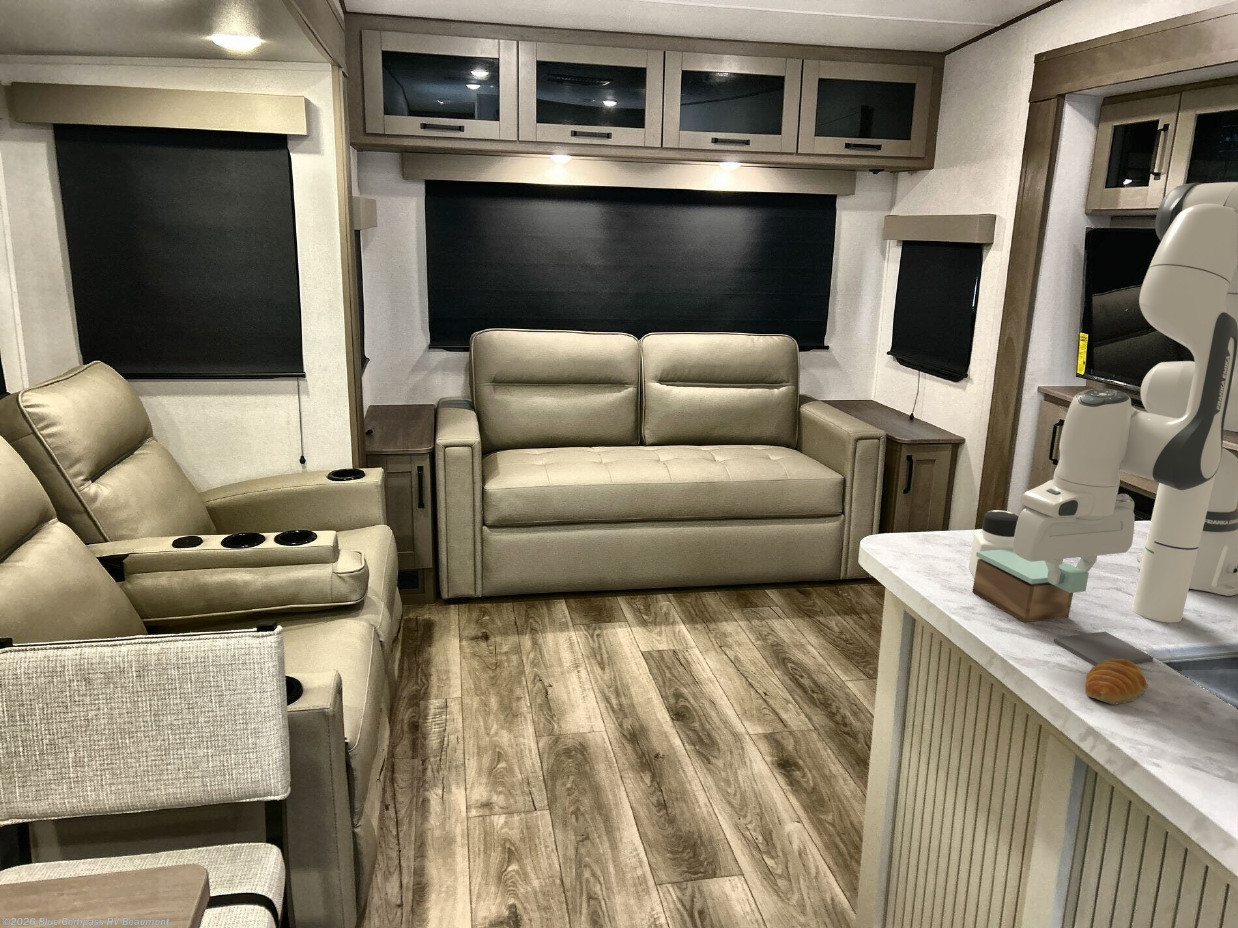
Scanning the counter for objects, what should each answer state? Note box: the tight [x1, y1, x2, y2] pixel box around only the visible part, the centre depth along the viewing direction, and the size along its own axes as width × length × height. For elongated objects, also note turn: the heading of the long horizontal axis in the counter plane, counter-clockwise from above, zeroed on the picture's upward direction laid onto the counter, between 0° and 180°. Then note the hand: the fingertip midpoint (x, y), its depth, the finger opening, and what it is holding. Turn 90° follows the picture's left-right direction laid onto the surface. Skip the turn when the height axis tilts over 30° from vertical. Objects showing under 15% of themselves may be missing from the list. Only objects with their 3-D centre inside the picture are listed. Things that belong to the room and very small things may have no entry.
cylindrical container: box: [1131, 474, 1216, 624], centre depth 144 cm, size 7×7×25 cm
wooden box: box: [971, 559, 1074, 623], centre depth 147 cm, size 9×12×6 cm
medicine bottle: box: [968, 509, 1019, 579], centre depth 157 cm, size 7×7×12 cm
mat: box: [1052, 631, 1154, 667], centre depth 132 cm, size 10×9×1 cm
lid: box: [976, 549, 1090, 594], centre depth 144 cm, size 10×17×3 cm, turn 19°
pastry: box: [1084, 658, 1149, 705], centre depth 120 cm, size 9×7×4 cm
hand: (1066, 581), depth 138 cm, fingers closed on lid, 3 cm apart
